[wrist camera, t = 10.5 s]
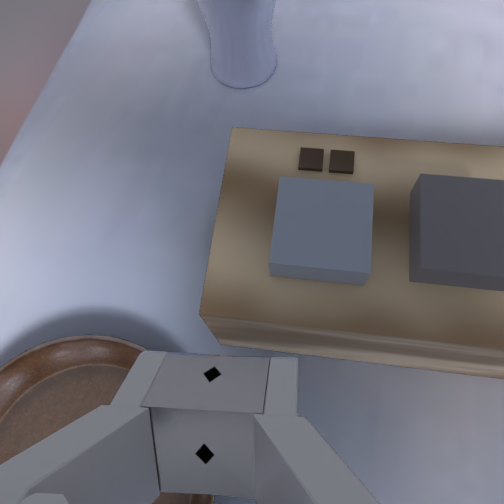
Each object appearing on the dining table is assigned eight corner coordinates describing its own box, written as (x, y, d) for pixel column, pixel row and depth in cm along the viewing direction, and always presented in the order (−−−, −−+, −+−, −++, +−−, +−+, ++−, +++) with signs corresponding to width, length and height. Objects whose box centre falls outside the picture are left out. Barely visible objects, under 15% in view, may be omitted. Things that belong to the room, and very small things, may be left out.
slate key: (363, 285, 24) (370, 273, 22) (269, 275, 25) (268, 262, 23) (367, 201, 26) (374, 183, 24) (279, 194, 26) (279, 176, 25)
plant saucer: (237, 619, 27) (232, 641, 24) (-59, 663, 27) (-99, 690, 24) (206, 326, 34) (200, 316, 31) (-31, 362, 34) (-60, 355, 31)
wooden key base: (610, 392, 30) (743, 375, 21) (220, 344, 33) (197, 312, 24) (586, 226, 34) (689, 156, 26) (243, 196, 37) (231, 124, 28)
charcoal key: (514, 292, 22) (535, 279, 20) (409, 281, 23) (420, 268, 21) (507, 201, 24) (526, 181, 22) (409, 193, 24) (420, 173, 23)
